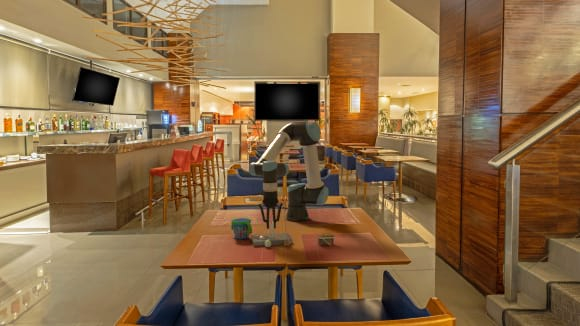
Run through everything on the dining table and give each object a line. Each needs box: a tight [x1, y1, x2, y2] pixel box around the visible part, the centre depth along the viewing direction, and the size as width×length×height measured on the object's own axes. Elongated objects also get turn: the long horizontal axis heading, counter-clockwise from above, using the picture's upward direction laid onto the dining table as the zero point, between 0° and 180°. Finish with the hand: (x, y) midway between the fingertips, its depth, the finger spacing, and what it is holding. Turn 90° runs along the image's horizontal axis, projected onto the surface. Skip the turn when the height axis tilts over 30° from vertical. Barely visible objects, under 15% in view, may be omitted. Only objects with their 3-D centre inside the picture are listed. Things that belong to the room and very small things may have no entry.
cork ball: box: [284, 239, 292, 247], centre depth 220 cm, size 4×4×4 cm
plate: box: [250, 232, 293, 248], centre depth 229 cm, size 20×13×2 cm, turn 100°
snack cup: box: [230, 217, 253, 240], centre depth 237 cm, size 16×10×10 cm
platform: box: [315, 232, 336, 246], centre depth 220 cm, size 12×18×7 cm, turn 96°
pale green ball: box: [264, 240, 272, 248], centre depth 219 cm, size 4×4×4 cm
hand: (271, 234), depth 228 cm, fingers closed
